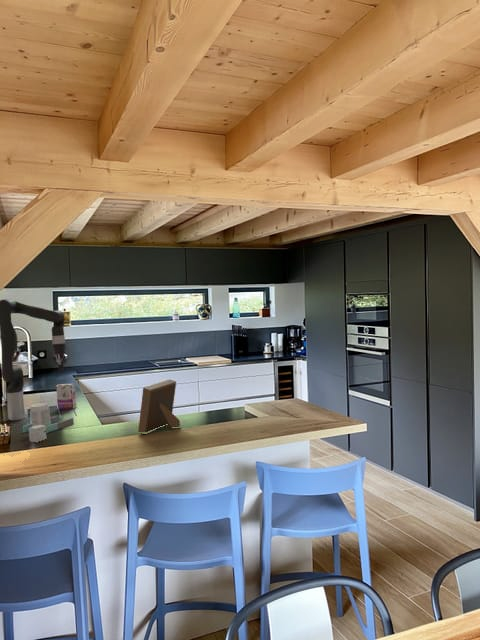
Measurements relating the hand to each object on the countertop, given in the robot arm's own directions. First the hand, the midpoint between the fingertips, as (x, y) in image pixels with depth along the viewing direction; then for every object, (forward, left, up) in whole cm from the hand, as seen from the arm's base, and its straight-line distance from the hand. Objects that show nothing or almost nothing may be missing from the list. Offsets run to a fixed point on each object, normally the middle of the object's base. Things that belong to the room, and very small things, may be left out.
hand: (61, 370), depth 295 cm
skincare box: (+28, -40, -29) cm, 57 cm away
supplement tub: (+13, -27, -29) cm, 42 cm away
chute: (+13, -22, -29) cm, 39 cm away
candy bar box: (-17, +15, -29) cm, 37 cm away
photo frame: (+82, -4, -29) cm, 87 cm away
